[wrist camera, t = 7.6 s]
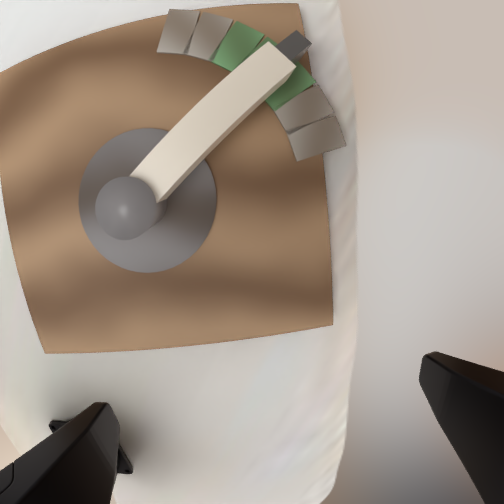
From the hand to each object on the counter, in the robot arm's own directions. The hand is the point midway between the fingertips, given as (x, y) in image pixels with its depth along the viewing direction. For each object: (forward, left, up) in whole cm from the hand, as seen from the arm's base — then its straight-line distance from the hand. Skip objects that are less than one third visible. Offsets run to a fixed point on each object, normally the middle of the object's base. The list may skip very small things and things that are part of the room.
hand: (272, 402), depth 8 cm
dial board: (+6, +5, -12) cm, 14 cm away
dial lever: (+8, +1, -10) cm, 13 cm away
